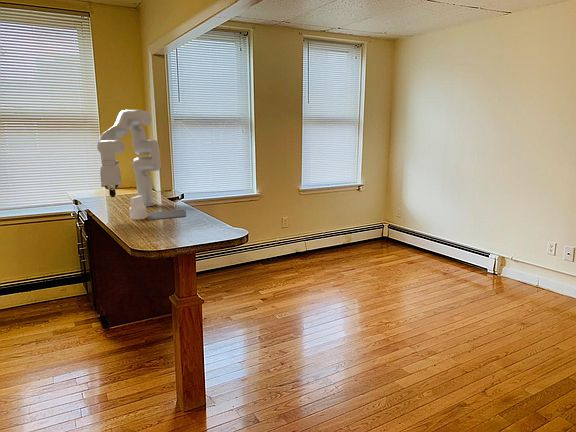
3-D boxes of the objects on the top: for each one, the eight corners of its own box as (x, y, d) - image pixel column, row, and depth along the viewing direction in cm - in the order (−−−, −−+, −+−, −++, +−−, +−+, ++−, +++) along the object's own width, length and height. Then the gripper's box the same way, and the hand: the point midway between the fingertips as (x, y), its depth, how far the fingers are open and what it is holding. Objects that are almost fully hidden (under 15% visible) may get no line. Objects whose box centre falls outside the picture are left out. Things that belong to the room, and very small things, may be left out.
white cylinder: (141, 219, 238) (139, 198, 235) (127, 219, 239) (124, 198, 237) (150, 216, 246) (147, 195, 244) (135, 216, 248) (133, 195, 246)
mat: (149, 213, 254) (149, 212, 254) (184, 210, 259) (184, 209, 258) (148, 220, 235) (147, 219, 235) (185, 216, 240) (185, 215, 239)
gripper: (124, 162, 239) (128, 195, 242) (95, 164, 235) (99, 197, 239) (122, 163, 232) (126, 196, 235) (93, 164, 228) (97, 199, 231)
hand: (113, 197), depth 237 cm, fingers closed
